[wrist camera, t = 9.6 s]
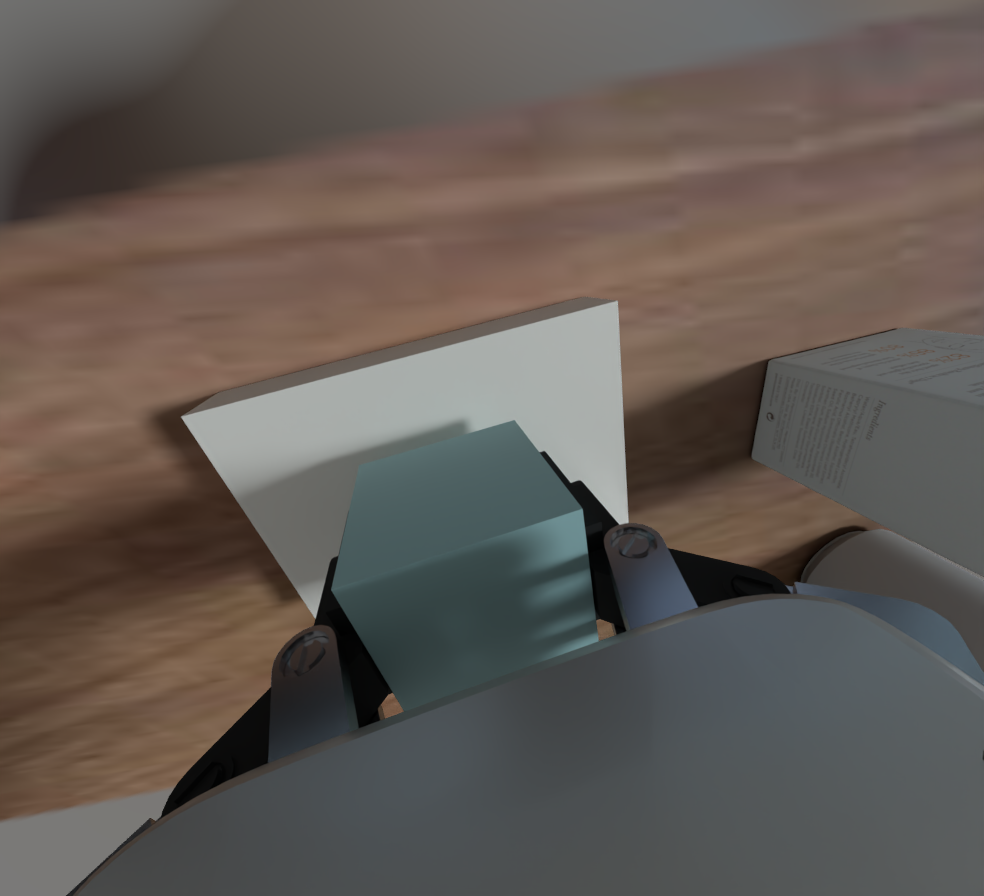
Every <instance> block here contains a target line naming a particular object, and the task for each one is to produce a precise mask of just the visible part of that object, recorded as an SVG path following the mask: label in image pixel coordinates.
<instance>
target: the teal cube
mask: <svg viewBox="0 0 984 896" xmlns="http://www.w3.org/2000/svg"><path fill="white" fill-rule="evenodd" d="M331 591H332V592H333V594H334V596H335V597H336V599H337V601H338V602H339V604H340V606H341V607H342V609H343V611H344V612H345V614H346V616H347V617H348V619H349V621H350V622H351V624H352V626H353V627H354V629H355V630H356V632H357V634H358V635H359V637H360V639H361V640H362V642H363V644H364V645H365V647H366V649H367V650H368V652H369V654H370V655H371V657H372V659H373V660H374V662H375V664H376V665H377V667H378V669H379V670H380V672H381V674H382V675H383V677H384V679H385V680H386V682H387V684H388V685H389V687H390V689H391V690H392V692H393V694H394V695H395V697H396V699H397V700H398V702H399V704H400V705H401V707H402V709H403V710H404V712H405V711H407V710H410V709H413V708H416V707H418V706H421V705H424V704H426V703H429V702H432V701H435V700H437V699H440V698H443V697H446V696H448V695H451V694H454V693H457V692H459V691H462V690H465V689H468V688H470V687H473V686H476V685H479V684H481V683H484V682H487V681H489V680H492V679H495V678H498V677H501V676H503V675H506V674H509V673H512V672H514V671H517V670H520V669H523V668H525V667H528V666H531V665H534V664H536V663H539V662H542V661H545V660H548V659H550V658H553V657H556V656H559V655H562V654H564V653H567V652H570V651H573V650H576V649H578V648H581V647H584V646H587V645H590V644H592V643H595V642H598V641H599V640H598V632H597V624H596V615H595V607H594V599H593V590H592V582H591V574H590V566H589V557H588V549H587V541H586V532H585V524H584V516H583V509H582V507H581V506H580V505H579V503H578V502H577V501H576V499H575V498H574V497H573V496H572V494H571V493H570V492H569V490H568V489H567V488H566V486H565V485H564V484H563V483H562V481H561V480H560V479H559V477H558V476H557V475H556V473H555V472H554V471H553V469H552V468H551V467H550V466H549V464H548V463H547V462H546V460H545V459H544V458H543V456H542V455H541V454H540V453H539V451H538V450H537V449H536V447H535V446H534V445H533V443H532V442H531V441H530V439H529V438H528V437H527V436H526V434H525V433H524V432H523V430H522V429H521V428H520V426H519V425H518V424H517V423H516V421H515V420H513V421H509V422H506V423H502V424H499V425H495V426H492V427H489V428H485V429H482V430H478V431H475V432H471V433H468V434H465V435H461V436H458V437H454V438H451V439H447V440H444V441H441V442H437V443H434V444H430V445H427V446H423V447H420V448H417V449H413V450H410V451H406V452H403V453H399V454H396V455H393V456H389V457H386V458H382V459H379V460H375V461H372V462H369V463H365V464H362V465H359V468H358V473H357V477H356V482H355V486H354V491H353V495H352V499H351V504H350V508H349V513H348V517H347V522H346V526H345V531H344V535H343V539H342V544H341V548H340V553H339V557H338V562H337V566H336V571H335V575H334V579H333V584H332V588H331Z"/></svg>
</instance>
